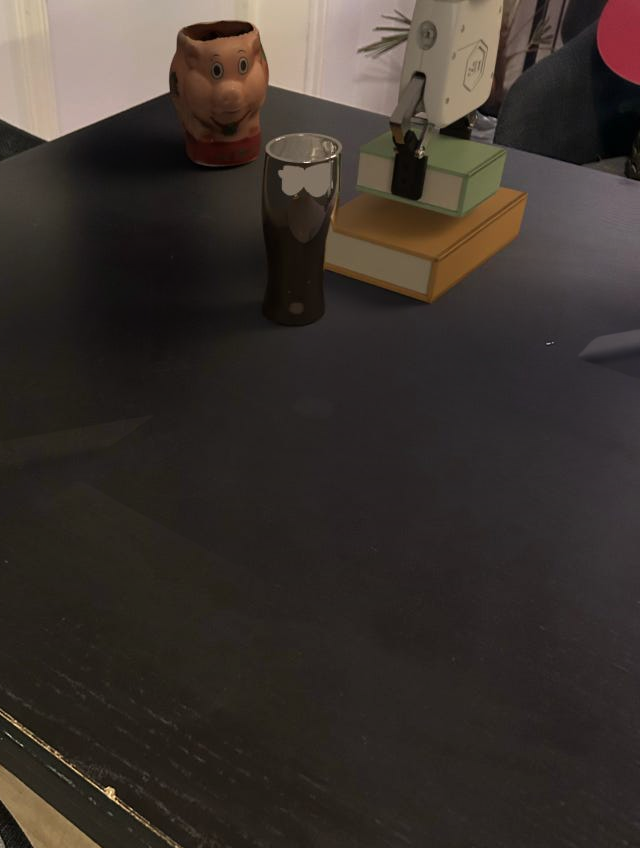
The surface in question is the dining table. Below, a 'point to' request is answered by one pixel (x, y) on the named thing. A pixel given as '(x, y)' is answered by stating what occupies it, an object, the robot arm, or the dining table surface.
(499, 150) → the small book
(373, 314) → the dining table surface
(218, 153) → the decorative planter
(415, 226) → the big book
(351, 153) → the dining table surface
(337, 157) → the beer glass
